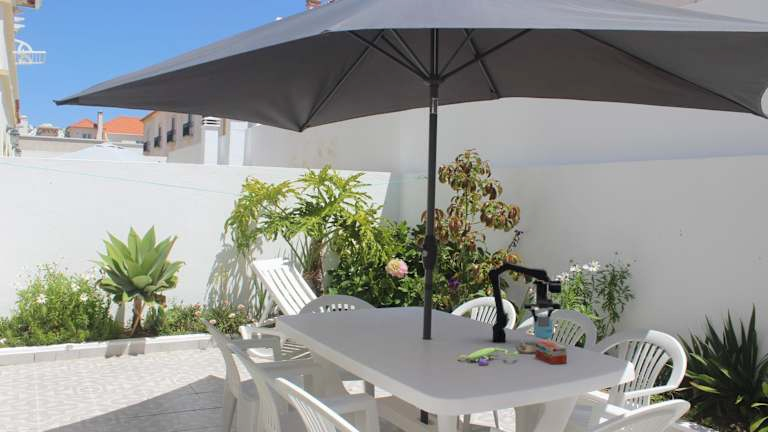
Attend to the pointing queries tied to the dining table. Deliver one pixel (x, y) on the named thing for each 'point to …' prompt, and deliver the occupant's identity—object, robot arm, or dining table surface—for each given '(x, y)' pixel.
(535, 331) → the data package
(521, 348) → the pin tray
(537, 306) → the robot arm
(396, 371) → the dining table surface
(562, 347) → the medicine box
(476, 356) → the figurine
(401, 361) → the dining table surface
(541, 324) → the drive
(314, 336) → the dining table surface
